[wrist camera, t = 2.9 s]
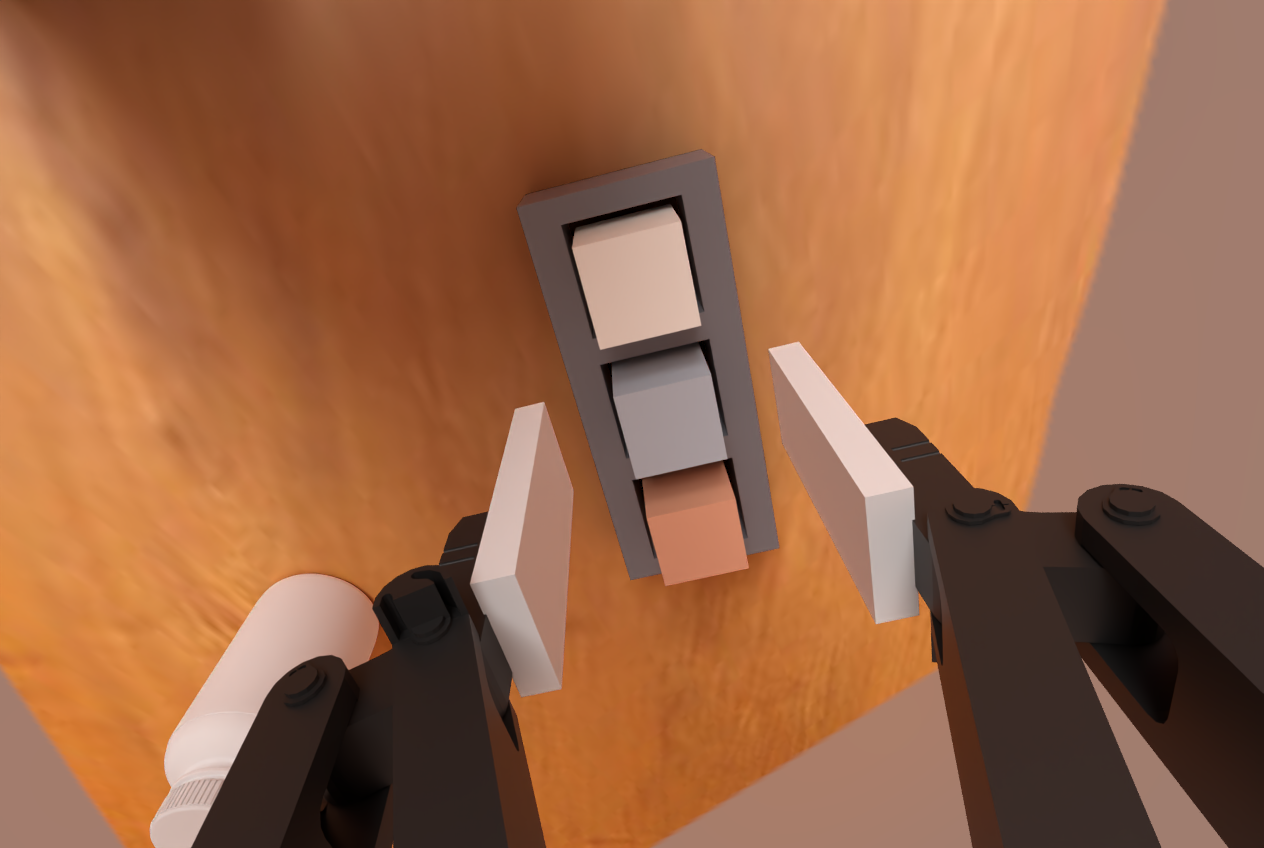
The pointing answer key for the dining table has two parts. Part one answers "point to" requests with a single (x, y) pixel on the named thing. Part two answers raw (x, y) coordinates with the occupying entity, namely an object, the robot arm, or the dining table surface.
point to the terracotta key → (694, 523)
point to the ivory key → (636, 276)
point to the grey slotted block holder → (653, 338)
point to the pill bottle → (255, 688)
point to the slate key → (668, 410)
